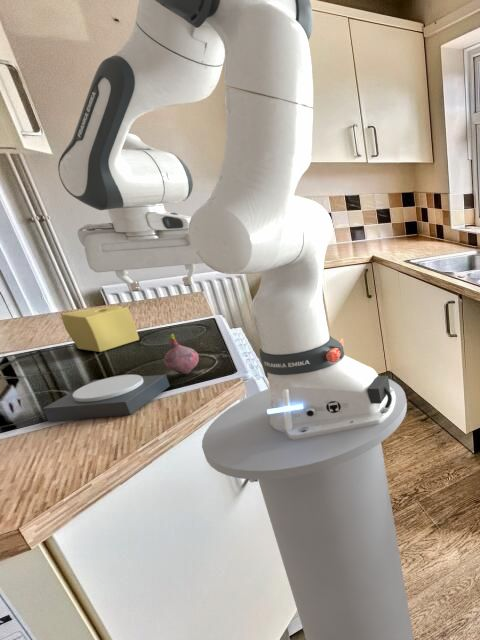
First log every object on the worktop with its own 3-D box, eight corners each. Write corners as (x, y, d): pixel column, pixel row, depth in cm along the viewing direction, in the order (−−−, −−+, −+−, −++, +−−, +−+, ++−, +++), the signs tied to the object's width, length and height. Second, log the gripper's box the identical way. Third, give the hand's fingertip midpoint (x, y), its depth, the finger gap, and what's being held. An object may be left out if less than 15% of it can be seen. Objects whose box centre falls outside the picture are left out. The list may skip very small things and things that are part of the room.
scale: (170, 386, 91) (164, 371, 89) (130, 414, 80) (123, 398, 78) (98, 391, 89) (92, 376, 88) (48, 421, 78) (39, 404, 77)
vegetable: (163, 378, 95) (148, 336, 91) (192, 367, 100) (178, 327, 96) (180, 382, 92) (165, 339, 89) (208, 370, 98) (195, 330, 94)
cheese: (118, 336, 123) (105, 303, 119) (142, 340, 119) (130, 306, 116) (74, 349, 114) (58, 314, 110) (99, 353, 110) (84, 317, 107)
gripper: (66, 226, 79) (94, 298, 84) (197, 219, 87) (216, 284, 92) (80, 223, 84) (106, 291, 89) (202, 217, 92) (220, 279, 97)
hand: (163, 288), depth 90 cm, fingers open, 8 cm apart
